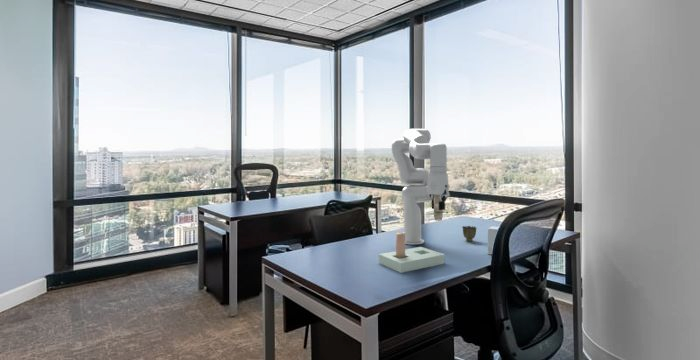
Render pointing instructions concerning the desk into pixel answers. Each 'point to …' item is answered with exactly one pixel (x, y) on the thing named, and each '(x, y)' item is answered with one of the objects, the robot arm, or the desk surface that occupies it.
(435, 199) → the ash peg
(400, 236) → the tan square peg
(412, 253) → the peg board
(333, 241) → the desk surface
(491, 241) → the supplement box
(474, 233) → the cup
